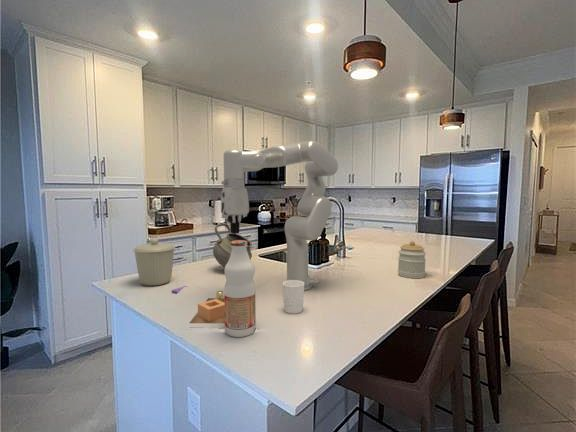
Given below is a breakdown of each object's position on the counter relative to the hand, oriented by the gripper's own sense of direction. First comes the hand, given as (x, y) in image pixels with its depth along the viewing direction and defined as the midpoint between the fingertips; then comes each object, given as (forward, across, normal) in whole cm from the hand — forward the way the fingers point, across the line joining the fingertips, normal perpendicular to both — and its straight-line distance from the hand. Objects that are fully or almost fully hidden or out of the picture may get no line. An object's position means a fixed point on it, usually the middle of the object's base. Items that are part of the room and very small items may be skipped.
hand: (235, 233), depth 120 cm
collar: (+26, -15, -8) cm, 31 cm away
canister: (+27, -11, +48) cm, 56 cm away
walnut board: (+27, -11, -4) cm, 30 cm away
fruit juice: (+27, -13, -21) cm, 37 cm away
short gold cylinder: (+26, -7, 0) cm, 27 cm away
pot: (+27, +28, +42) cm, 57 cm away
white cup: (+27, +11, -20) cm, 36 cm away
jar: (+27, +86, -30) cm, 95 cm away
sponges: (+28, -8, +24) cm, 38 cm away
